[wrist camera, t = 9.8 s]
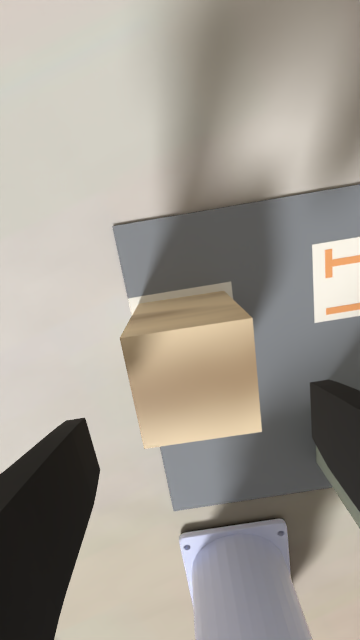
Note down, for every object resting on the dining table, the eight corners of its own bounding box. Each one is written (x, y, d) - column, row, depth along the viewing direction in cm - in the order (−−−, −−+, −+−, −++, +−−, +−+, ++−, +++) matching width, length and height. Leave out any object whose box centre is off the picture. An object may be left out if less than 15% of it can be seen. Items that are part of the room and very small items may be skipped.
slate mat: (405, 475, 20) (407, 476, 20) (173, 509, 21) (173, 511, 20) (427, 173, 15) (429, 172, 15) (112, 226, 15) (112, 226, 15)
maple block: (232, 369, 18) (262, 431, 12) (153, 380, 18) (144, 448, 12) (224, 290, 16) (252, 318, 10) (138, 303, 16) (119, 337, 10)
